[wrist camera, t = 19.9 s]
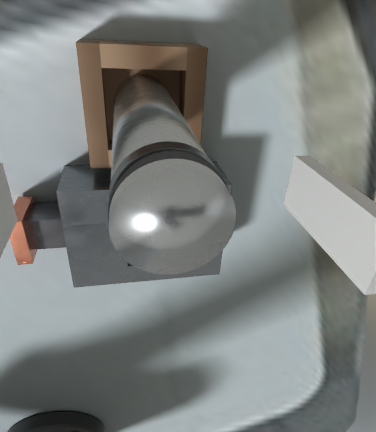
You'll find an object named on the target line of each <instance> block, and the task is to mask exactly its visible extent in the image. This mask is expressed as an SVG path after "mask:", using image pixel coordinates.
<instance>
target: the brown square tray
mask: <svg viewBox="0 0 376 432" xmlns="http://www.w3.org/2000/svg"><path fill="white" fill-rule="evenodd" d="M76 47H77V56H78V64H79V73H80V82H81V90H82V99H83V108H84V116H85V125H86V133H87V142H88V151H89V159H90V168H111V163H112V141H113V119H114V99H115V94H116V92H117V89H118V88H119V86H120V85H121V83H122V82H124V81H125V80H126V79H128V78H129V77H132V76H135V75H148V76H151V77H154V78H156V79H157V80H159V81H160V82H161V83H162V84H163V85H164V86H165V88H166V89H167V91H168V93H169V94H170V96H171V97H172V99H173V101H174V102H175V104H176V106H177V107H178V109H179V111H180V112H181V114H182V115H183V117H184V119H185V120H186V122H187V124H188V125H189V127H190V128H191V130H192V132H193V133H194V135H195V137H196V138H197V140H198V142H199V143H201V130H202V117H203V104H204V91H205V78H206V66H207V53H208V48H206V47H204V46H201V45H199V44H177V43H156V42H134V41H112V40H91V39H80V40H78V41H77V42H76Z"/></svg>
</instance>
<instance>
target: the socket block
mask: <svg viewBox="0 0 376 432" xmlns="http://www.w3.org/2000/svg"><path fill="white" fill-rule="evenodd" d="M213 164H214V165H215V167H216V168H217V170H218V172H219V173H220V175H221V177H222V178H223V180H224V181H225V183H226V185H227V187H228V189H229V191H230V194H231V188H232V185H231V183H230V182H229V180H228V179H227V177H226V176H225V174H224V173H223V171H222V170H221V168H220V166H219V165H218V163H217V162H213ZM110 182H111V168H90V165H66V166H64V169H63V172H62V176H61V179H60V182H59V185H58V188H57V191H56V194H57V199H58V204H59V210H60V215H61V221H62V226H63V231H64V237H65V242H66V248H67V253H68V258H69V264H70V269H71V275H72V280H73V285H74V287H84V286H95V285H106V284H117V283H128V282H138V281H149V280H160V279H171V278H182V277H193V276H204V275H215V274H219V273H220V266H221V259H222V252H223V250H222V251H221V252H220V253H219V254H218V255H217V256H216V257H215V258H213V259H212V260H211V261H209V262H208V263H206V264H204V265H203V266H201V267H198V268H196V269H194V270H191V271H188V272H184V273H179V274H166V275H165V274H155V273H150V272H146V271H143V270H140V269H138V268H136V267H134V266H132V265H131V264H129V263H128V262H127V261H125V260H124V259H123V258H122V257H121V256H120V255H119V253H118V252H117V251H116V249H115V247H114V246H113V244H112V241H111V238H110V233H109V222H108V200H109V187H110Z"/></svg>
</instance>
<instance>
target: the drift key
mask: <svg viewBox="0 0 376 432" xmlns="http://www.w3.org/2000/svg"><path fill="white" fill-rule="evenodd" d="M14 209H15V212H16V216H17V222H16V225H15V227H14V229H13V231H12V233H11V235H10V240H11V243H12V247H13V250H14V253H15V257H16V260H17V263H18V265H20V264H33V261H34V258H35V255H36V252H37V249H47V248H62V247H66V242H65V237H64V231H63V226H62V221H61V215H60V210H59V204H58V202H57V203H34V200H33V196H27V197H18V199H17V201H16V203H15V204H14Z"/></svg>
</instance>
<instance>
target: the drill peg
mask: <svg viewBox="0 0 376 432" xmlns="http://www.w3.org/2000/svg"><path fill="white" fill-rule="evenodd" d="M108 222H109V233H110V238H111V241H112V244H113V246H114V247H115V249H116V251H117V252H118V253H119V255H120V256H121V257H122V258H123V259H124V260H125V261H127V262H128V263H129V264H131V265H132V266H134V267H136V268H138V269H140V270H143V271H146V272H150V273H155V274H165V275H166V274H179V273H184V272H188V271H191V270H194V269H196V268H198V267H201V266H203V265H204V264H206V263H208V262H209V261H211V260H212V259H213V258H215V257H216V256H217V255H218V254H219V253H220V252H221V251H222V250H223V249H224V248H225V246H226V245H227V243H228V242H229V240H230V238H231V236H232V234H233V231H234V228H235V224H236V208H235V203H234V200H233V198H232V196H231V194H230V191H229V189H228V187H227V185H226V183H225V181H224V180H223V178H222V177H221V175H220V173H219V172H218V170H217V168H216V167H215V165H214V164H213V162H212V161H211V160H210V159H209V157H208V156H207V155H206V153H205V151H204V150H203V148H202V146H201V145H200V143H199V142H198V140H197V138H196V137H195V135H194V133H193V132H192V130H191V128H190V127H189V125H188V124H187V122H186V120H185V119H184V117H183V115H182V114H181V112H180V111H179V109H178V107H177V106H176V104H175V102H174V101H173V99H172V97H171V96H170V94H169V93H168V91H167V89H166V88H165V86H164V85H163V84H162V83H161V82H160V81H159V80H157V79H156V78H154V77H151V76H148V75H135V76H132V77H129V78H128V79H126V80H125V81H124V82H122V83H121V85H120V86H119V88H118V89H117V92H116V94H115V99H114V119H113V141H112V163H111V182H110V187H109V200H108Z"/></svg>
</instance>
